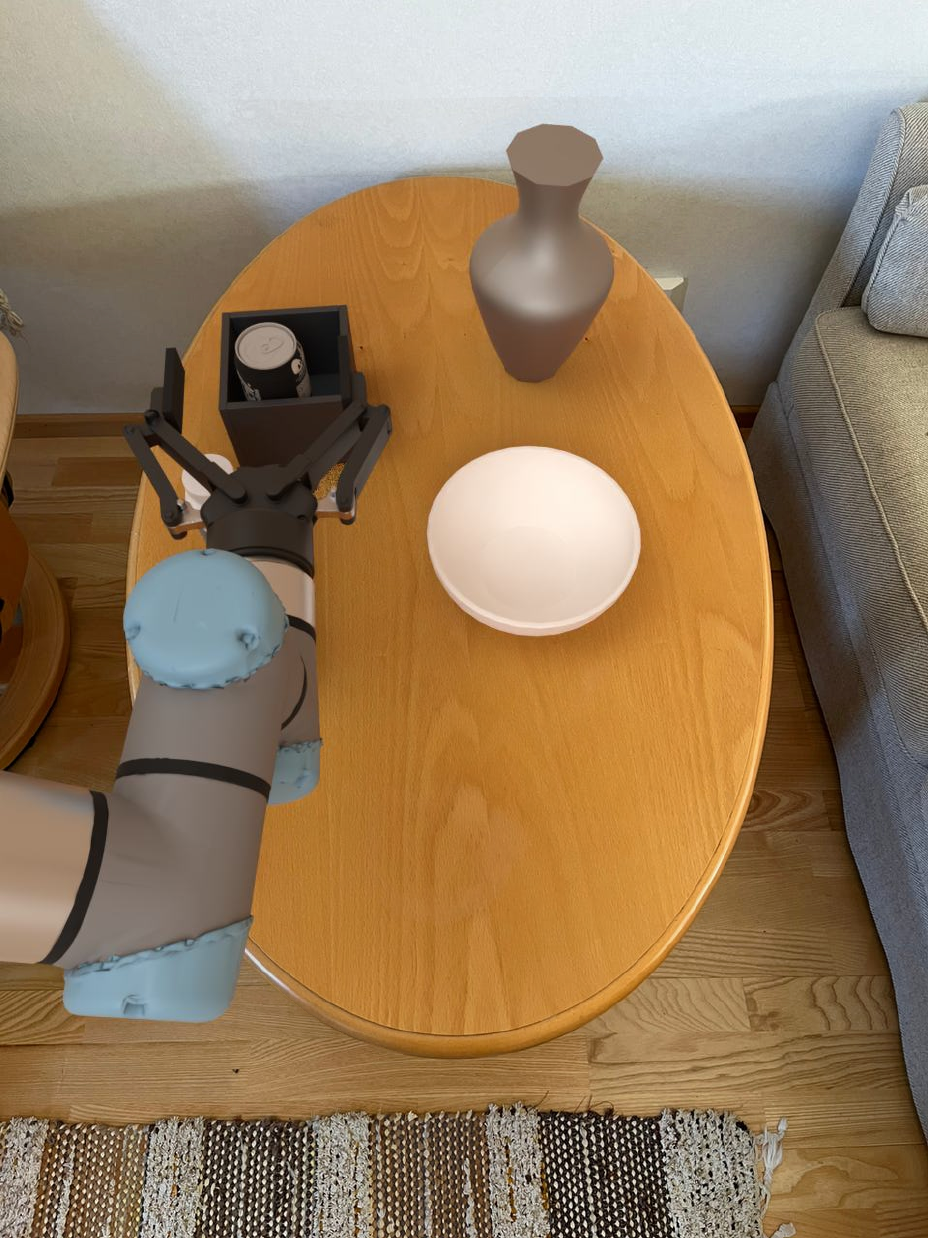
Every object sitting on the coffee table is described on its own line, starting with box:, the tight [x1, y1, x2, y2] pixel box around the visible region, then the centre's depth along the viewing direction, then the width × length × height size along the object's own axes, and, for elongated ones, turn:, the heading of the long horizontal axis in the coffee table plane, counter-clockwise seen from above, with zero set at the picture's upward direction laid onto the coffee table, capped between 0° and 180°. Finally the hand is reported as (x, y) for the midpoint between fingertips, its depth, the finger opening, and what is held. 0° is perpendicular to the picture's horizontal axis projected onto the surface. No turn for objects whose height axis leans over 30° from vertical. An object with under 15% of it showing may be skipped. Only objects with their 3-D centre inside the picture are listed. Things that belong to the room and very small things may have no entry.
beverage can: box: [234, 323, 313, 401], centre depth 84 cm, size 7×7×12 cm
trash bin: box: [218, 304, 359, 468], centre depth 87 cm, size 13×13×10 cm
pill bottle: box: [181, 453, 236, 544], centre depth 80 cm, size 6×6×10 cm
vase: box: [468, 123, 615, 383], centre depth 84 cm, size 14×14×25 cm
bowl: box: [426, 445, 642, 637], centre depth 80 cm, size 20×20×7 cm
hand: (260, 353), depth 68 cm, fingers open, 13 cm apart
